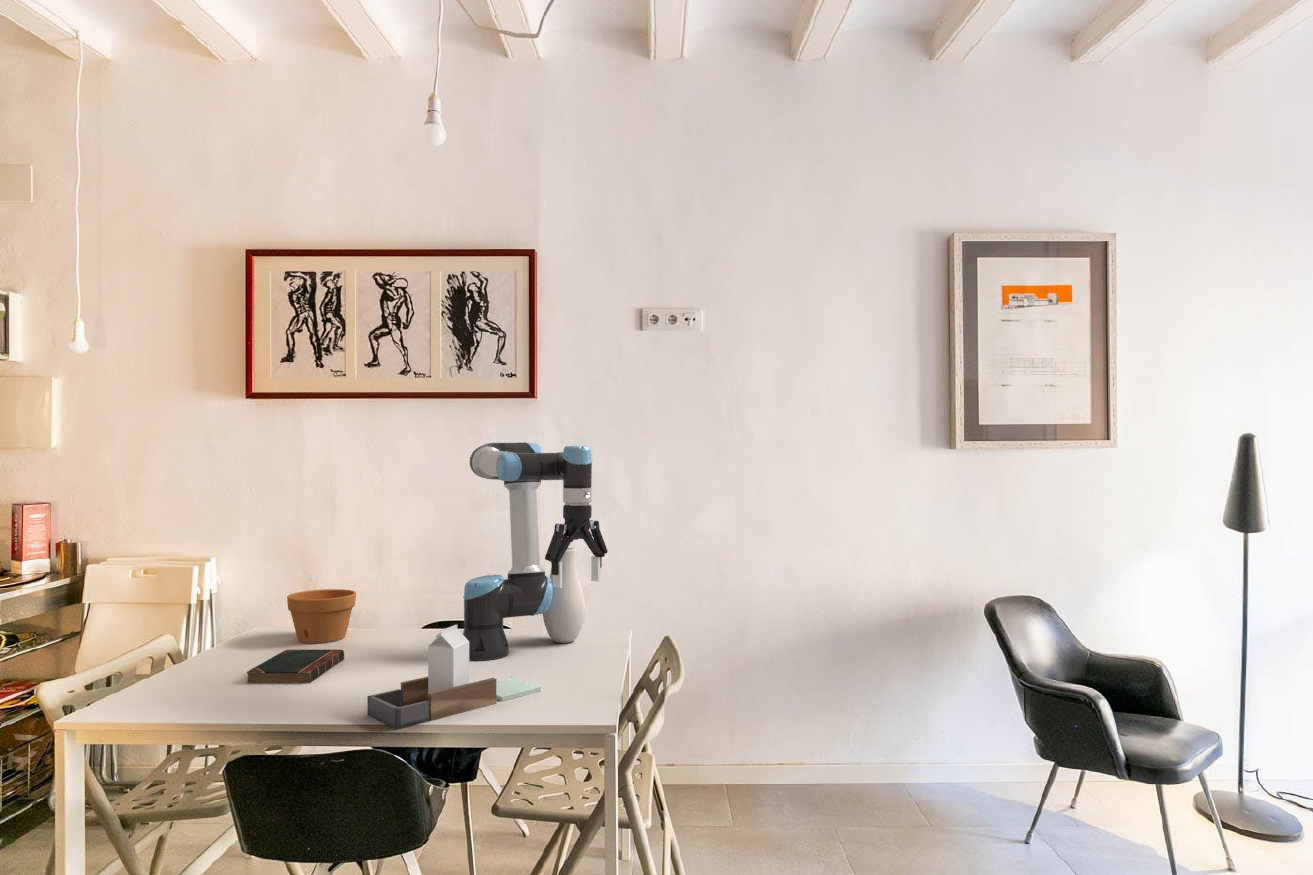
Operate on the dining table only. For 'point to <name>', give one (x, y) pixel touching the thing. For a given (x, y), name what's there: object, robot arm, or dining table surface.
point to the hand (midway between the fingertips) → (577, 584)
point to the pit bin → (396, 710)
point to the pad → (513, 688)
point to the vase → (566, 603)
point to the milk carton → (448, 660)
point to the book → (295, 666)
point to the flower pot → (321, 614)
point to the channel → (449, 696)
